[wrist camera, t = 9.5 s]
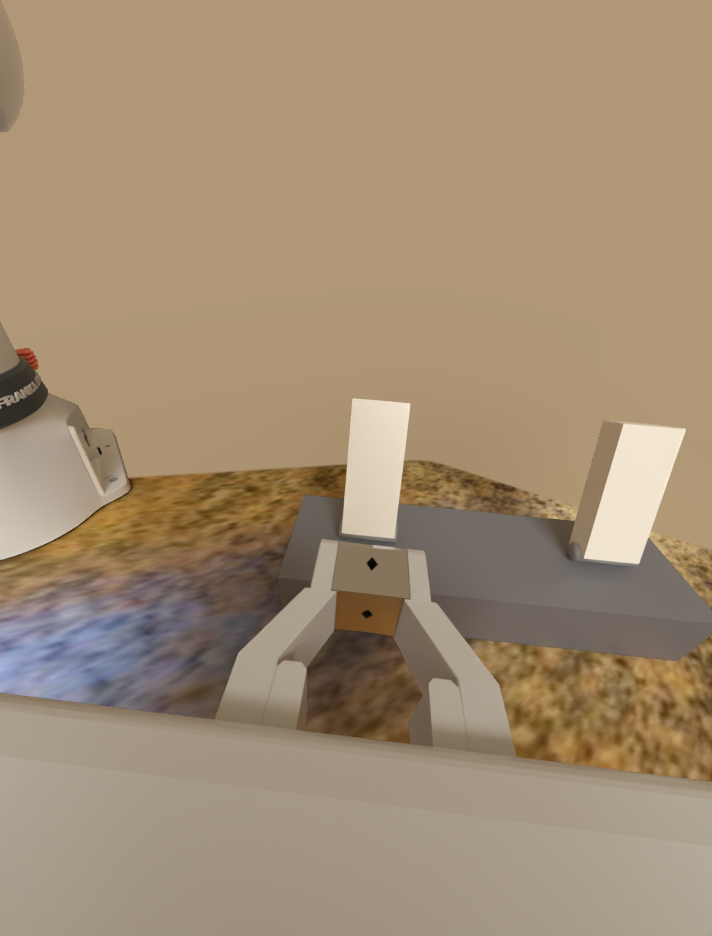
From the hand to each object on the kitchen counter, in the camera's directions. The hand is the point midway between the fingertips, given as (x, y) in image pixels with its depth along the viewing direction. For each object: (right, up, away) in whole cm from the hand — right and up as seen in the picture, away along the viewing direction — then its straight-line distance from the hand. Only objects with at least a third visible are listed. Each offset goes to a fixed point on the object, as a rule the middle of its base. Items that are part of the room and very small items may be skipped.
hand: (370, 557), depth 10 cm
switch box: (+9, -8, +19) cm, 23 cm away
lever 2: (+18, -4, +15) cm, 24 cm away
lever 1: (+1, -2, +16) cm, 16 cm away
